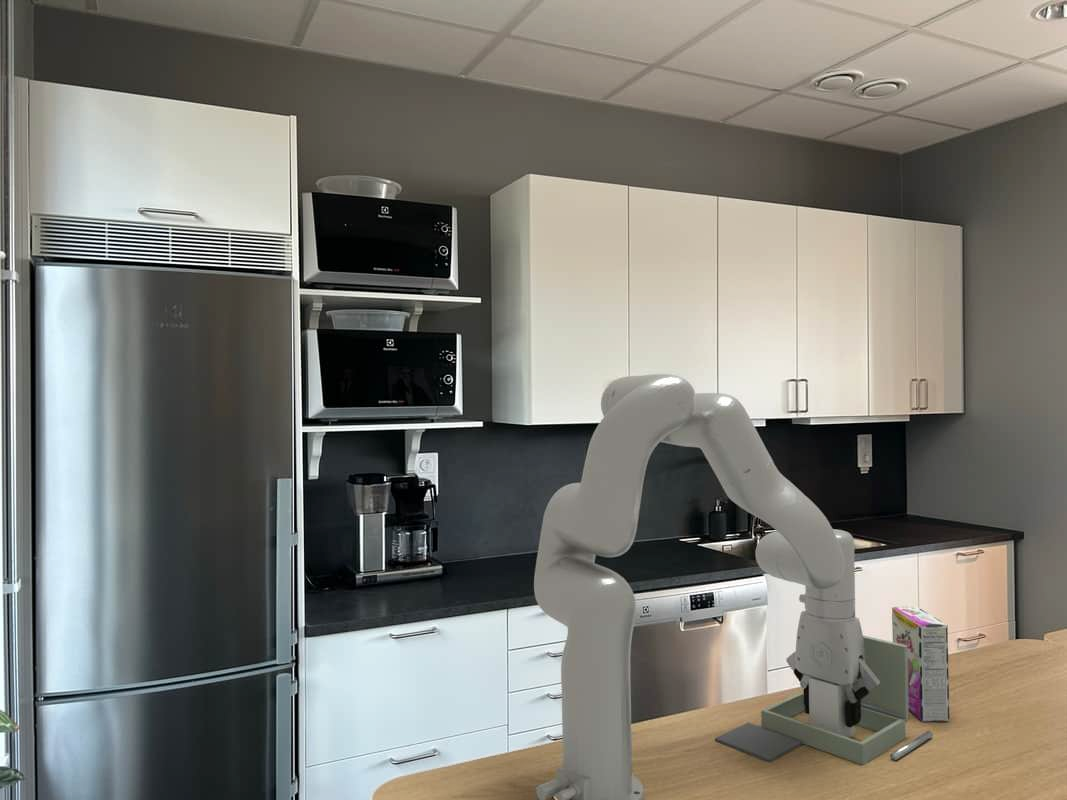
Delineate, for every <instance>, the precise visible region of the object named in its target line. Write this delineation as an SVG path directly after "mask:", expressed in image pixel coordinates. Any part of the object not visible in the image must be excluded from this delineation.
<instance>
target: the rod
mask: <svg viewBox="0 0 1067 800" xmlns="http://www.w3.org/2000/svg"><path fill="white" fill-rule="evenodd" d="M933 736H934V734H933V732H932V731H930V730H927V731H925V732H924V733H922V734H920V735H919V736H918V737H916V738H915V739H913V740H911V741H910V742H908V743H906V744H905V745H903V746H902V747H900V748H898V749H897V750H896V751H895V750H894V752H892V753H890V756H889V757H890V759H891V760H892V761H897V760H898V759H900V758H901V757H903V756H905V755H906V754H908V753H910V752H911V751H914V749H915V748H917V747H919V746H921V745H922V744H923V743H925V742H926V741H928V740H930V739H931V738H933Z"/></svg>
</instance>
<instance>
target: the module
mask: <svg viewBox="0 0 1067 800" xmlns="http://www.w3.org/2000/svg"><path fill="white" fill-rule="evenodd" d="M846 701H848V697H847V694H846V691H845V689H844V686H843V685H839V684H835V683H831V682H828V681H824V680H821V679H817V678H814V677H810V678H809V714H808V716H809V718H808V719H809V725H812V726H815V727H818V728H821V729H824V730H827V731H830V732H833V733H836V734H839V735H842V736H845V737H848V738H851V737H853V736H855V734H856V733H855V732H856V729H855V727H856V725H854V726H853V727H851V728H850V727H847V726H846V725H845V702H846ZM850 736H851V737H850Z"/></svg>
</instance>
